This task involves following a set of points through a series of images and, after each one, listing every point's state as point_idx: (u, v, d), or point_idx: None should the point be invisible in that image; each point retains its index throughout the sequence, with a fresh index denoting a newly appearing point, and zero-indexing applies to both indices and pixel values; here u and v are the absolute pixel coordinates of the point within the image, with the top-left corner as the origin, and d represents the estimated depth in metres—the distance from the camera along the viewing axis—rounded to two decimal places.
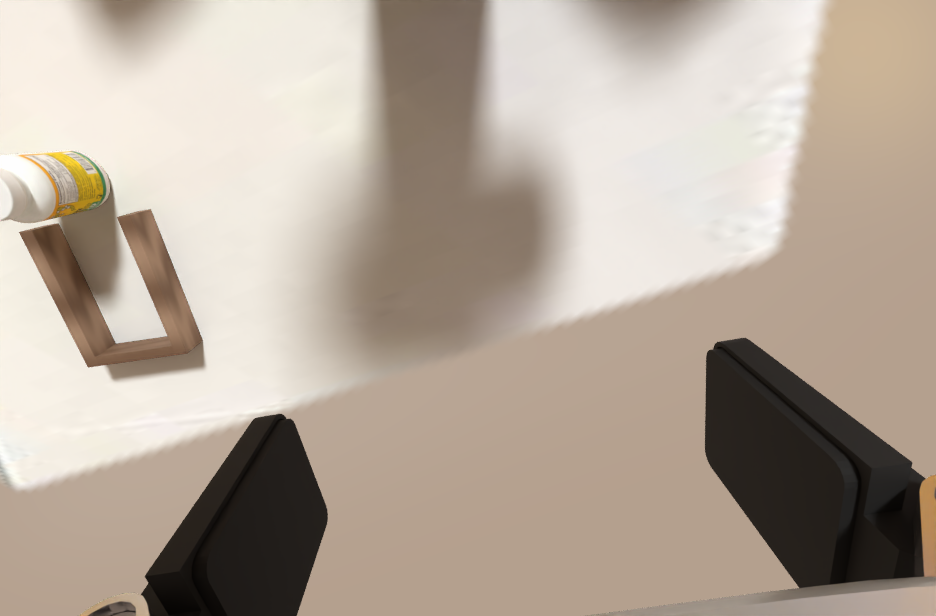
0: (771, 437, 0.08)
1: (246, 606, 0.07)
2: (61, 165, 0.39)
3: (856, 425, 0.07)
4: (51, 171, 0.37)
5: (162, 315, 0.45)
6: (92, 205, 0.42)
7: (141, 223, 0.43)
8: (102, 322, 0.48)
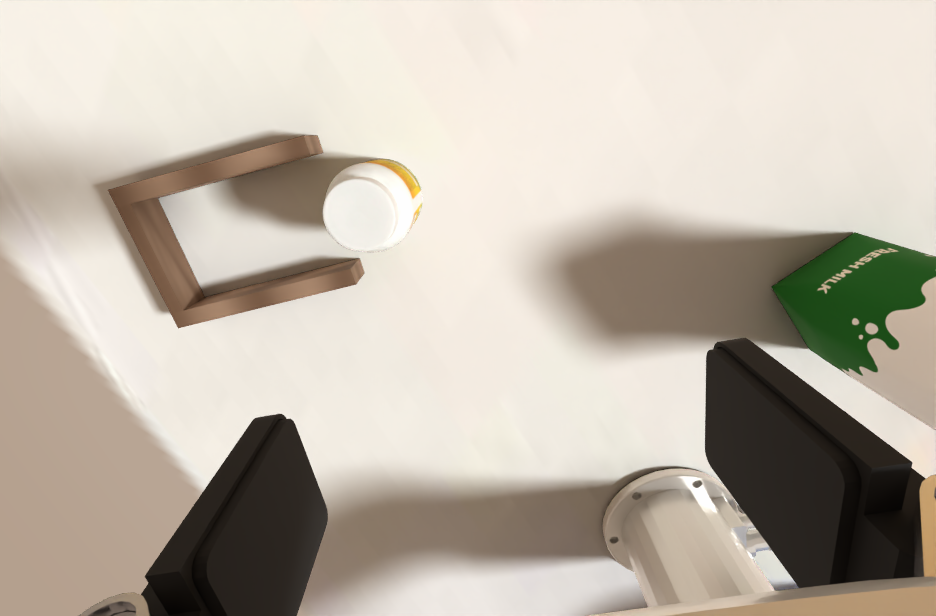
0: (771, 437, 0.08)
1: (246, 606, 0.07)
2: None
3: (856, 425, 0.07)
4: None
5: (226, 304, 0.34)
6: None
7: None
8: (188, 189, 0.34)
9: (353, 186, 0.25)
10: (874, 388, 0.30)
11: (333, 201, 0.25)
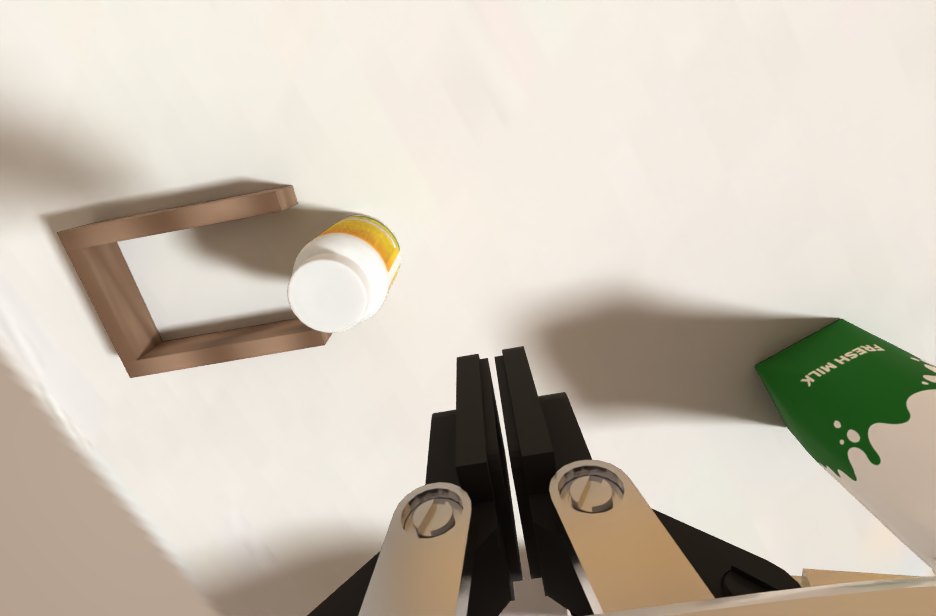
0: None
1: (509, 506, 0.08)
2: None
3: (541, 421, 0.08)
4: None
5: (184, 356, 0.32)
6: None
7: None
8: None
9: (322, 267, 0.23)
10: (851, 491, 0.29)
11: (299, 280, 0.23)
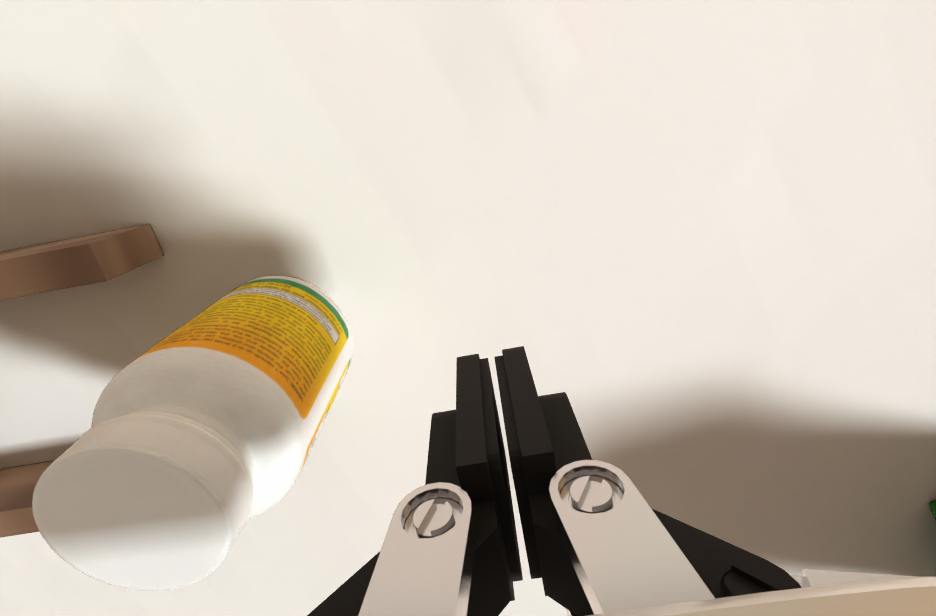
0: None
1: (509, 506, 0.08)
2: None
3: (541, 421, 0.08)
4: None
5: None
6: None
7: None
8: None
9: (107, 465, 0.09)
10: None
11: (57, 493, 0.09)
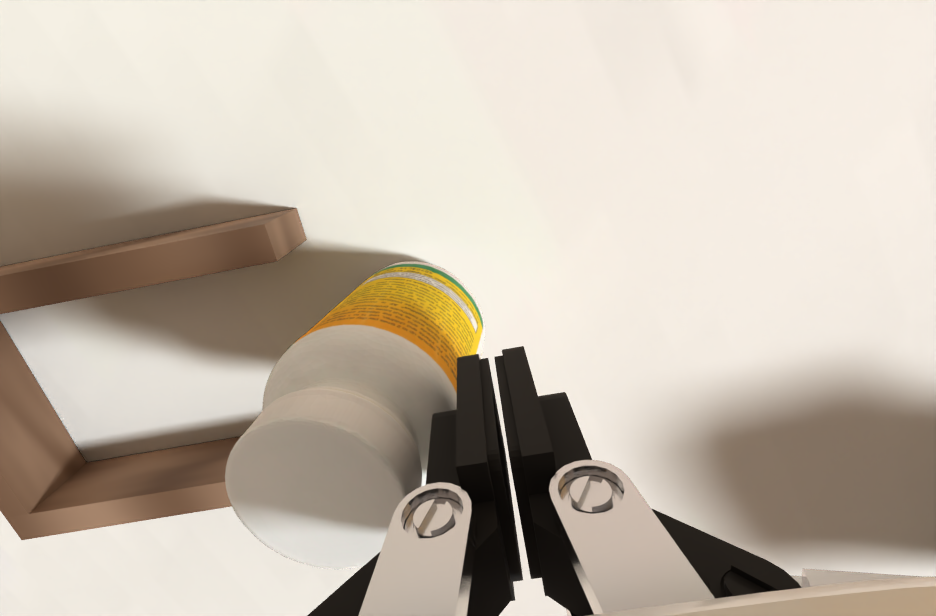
0: None
1: (509, 506, 0.08)
2: None
3: (541, 421, 0.08)
4: None
5: (111, 507, 0.18)
6: None
7: None
8: None
9: (301, 437, 0.09)
10: None
11: (250, 461, 0.09)
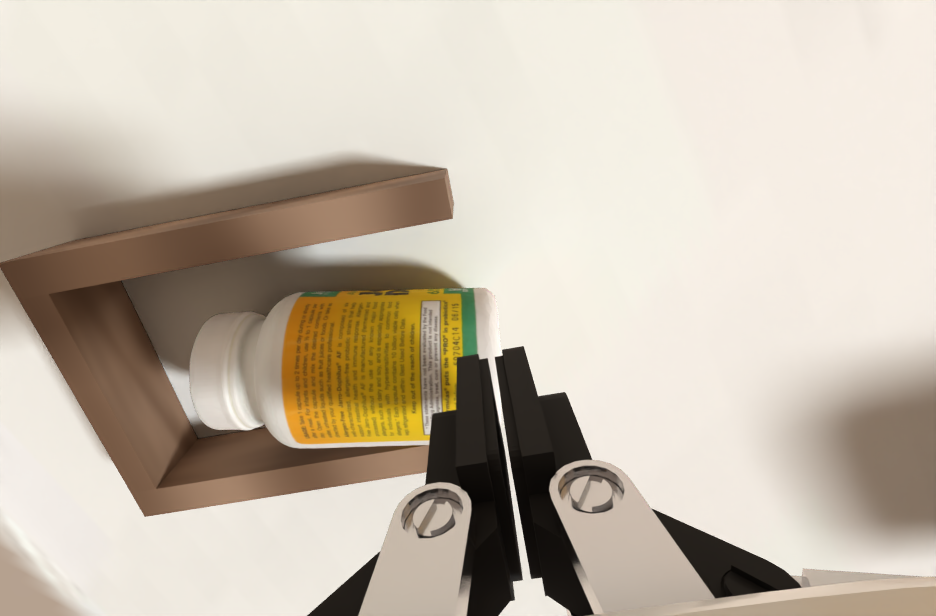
0: None
1: (509, 506, 0.08)
2: None
3: (541, 421, 0.08)
4: None
5: (242, 481, 0.18)
6: None
7: None
8: None
9: None
10: None
11: None
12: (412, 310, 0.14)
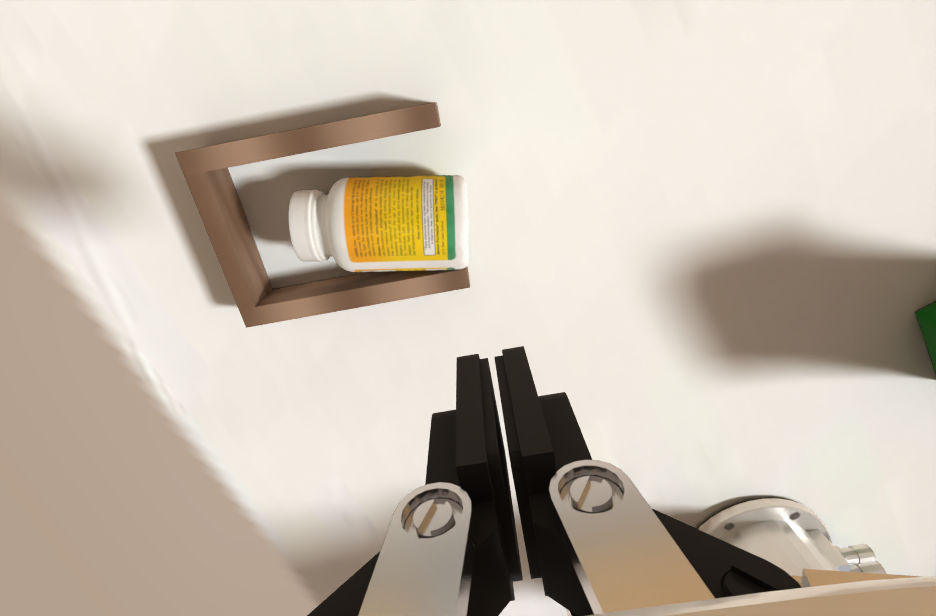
0: None
1: (509, 506, 0.08)
2: None
3: (541, 421, 0.08)
4: None
5: (309, 302, 0.28)
6: None
7: None
8: None
9: None
10: None
11: None
12: (417, 182, 0.25)
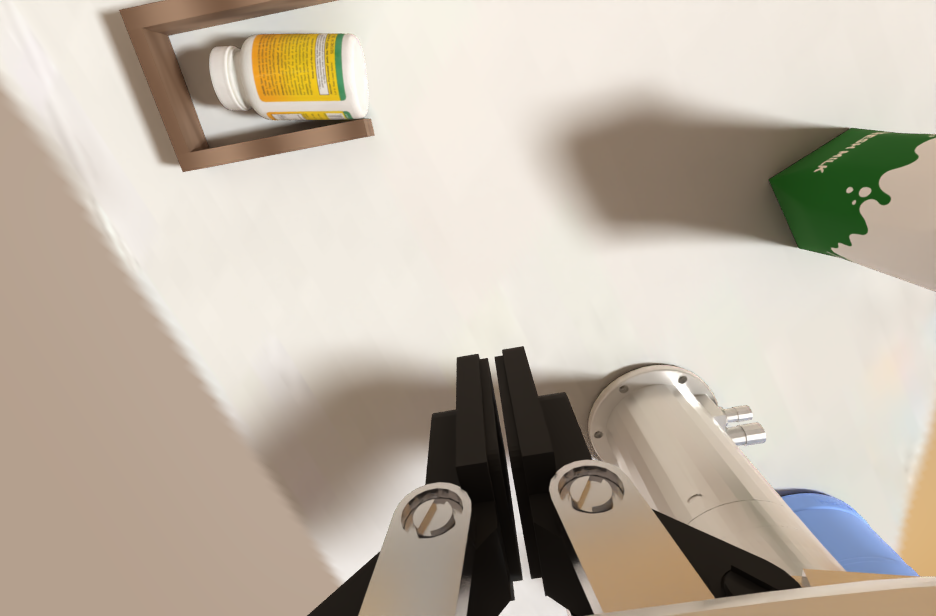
0: None
1: (509, 506, 0.08)
2: None
3: (541, 422, 0.08)
4: None
5: (234, 148, 0.34)
6: None
7: None
8: (200, 27, 0.33)
9: None
10: (861, 257, 0.31)
11: None
12: (314, 35, 0.31)
